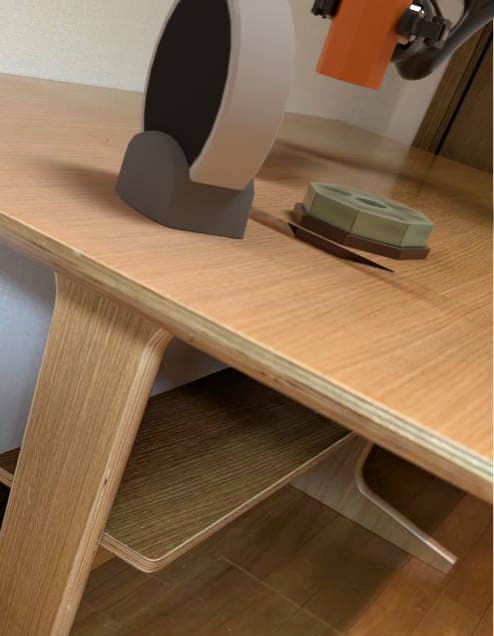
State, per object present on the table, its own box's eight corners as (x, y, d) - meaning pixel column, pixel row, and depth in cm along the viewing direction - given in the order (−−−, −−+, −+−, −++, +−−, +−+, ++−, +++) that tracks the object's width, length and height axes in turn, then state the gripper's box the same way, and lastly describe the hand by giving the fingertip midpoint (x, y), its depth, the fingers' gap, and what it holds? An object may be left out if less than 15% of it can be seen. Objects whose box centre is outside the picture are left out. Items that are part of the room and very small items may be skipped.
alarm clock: (95, 174, 76) (148, -65, 65) (192, 191, 79) (256, -32, 69) (158, 231, 64) (236, -50, 53) (269, 249, 67) (361, -11, 57)
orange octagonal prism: (338, 76, 88) (370, -12, 83) (388, 92, 84) (423, 1, 80) (304, 68, 84) (335, -24, 79) (354, 85, 80) (390, -11, 76)
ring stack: (337, 224, 83) (353, 183, 81) (439, 269, 76) (459, 226, 74) (265, 223, 75) (281, 178, 73) (371, 273, 69) (391, 225, 67)
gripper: (441, 78, 92) (421, 75, 79) (321, 44, 96) (283, 35, 83) (473, 0, 88) (458, -17, 75) (347, -32, 92) (311, -54, 79)
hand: (366, 11), depth 79 cm, fingers closed on orange octagonal prism, 7 cm apart
